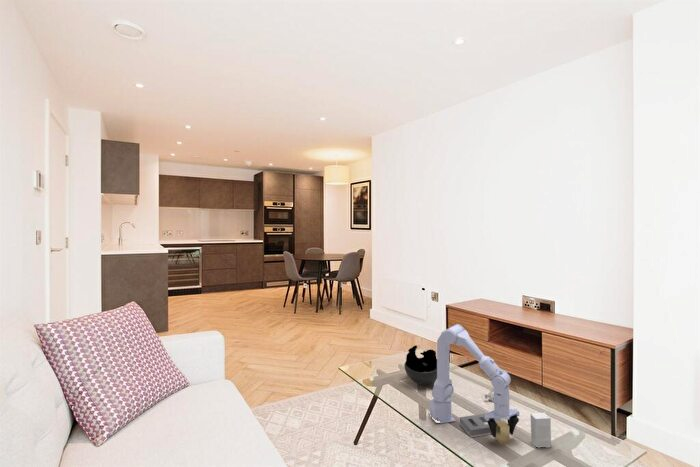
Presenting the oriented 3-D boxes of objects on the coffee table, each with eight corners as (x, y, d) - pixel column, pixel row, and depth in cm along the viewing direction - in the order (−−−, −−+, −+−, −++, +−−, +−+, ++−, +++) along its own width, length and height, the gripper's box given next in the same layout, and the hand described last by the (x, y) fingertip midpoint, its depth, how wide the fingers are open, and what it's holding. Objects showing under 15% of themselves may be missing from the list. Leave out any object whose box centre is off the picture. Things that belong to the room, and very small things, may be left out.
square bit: (500, 444, 148) (500, 427, 148) (495, 438, 152) (494, 421, 151) (509, 442, 149) (509, 426, 148) (503, 436, 153) (503, 420, 152)
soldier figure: (512, 404, 179) (492, 401, 175) (505, 408, 182) (485, 405, 179) (507, 388, 184) (487, 385, 181) (500, 391, 188) (481, 388, 184)
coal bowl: (445, 390, 193) (444, 355, 192) (407, 392, 193) (406, 357, 192) (437, 374, 213) (436, 342, 212) (402, 375, 213) (401, 343, 212)
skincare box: (545, 441, 149) (544, 412, 148) (551, 447, 145) (551, 418, 144) (530, 441, 149) (530, 413, 148) (536, 448, 144) (535, 419, 144)
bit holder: (471, 437, 153) (471, 430, 153) (459, 423, 163) (459, 417, 163) (506, 431, 156) (506, 424, 156) (492, 418, 166) (492, 412, 166)
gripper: (490, 409, 144) (491, 443, 145) (524, 404, 147) (524, 437, 147) (481, 400, 151) (481, 432, 152) (513, 396, 154) (513, 427, 154)
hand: (502, 434), depth 150 cm, fingers open, 7 cm apart
